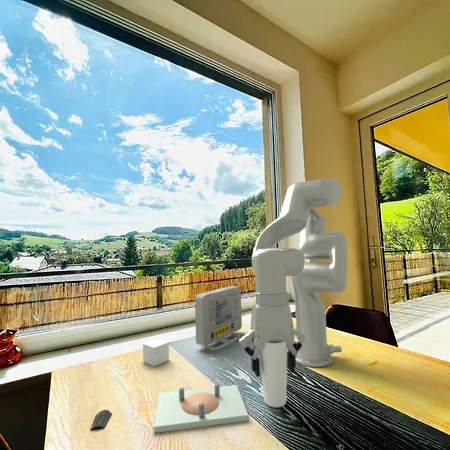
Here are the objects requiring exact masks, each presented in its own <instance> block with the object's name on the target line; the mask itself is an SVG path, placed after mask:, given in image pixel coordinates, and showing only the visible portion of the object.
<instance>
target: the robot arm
mask: <svg viewBox="0 0 450 450" xmlns="http://www.w3.org/2000/svg"><path fill="white" fill-rule="evenodd" d="M286 190H287V191H286V193H285V196H284V200H283V204H282V206H281V209H280V213H279V216H278V217H277V218H276V219H275V220H274V221H272V222H271V223H270V224H269V225H267V227H266V228H264V229H263V230H262V232H261V233H260V234H259V235H258V238H257V239H256V243H255V246H254V248H253V250H252V251H253V252H252V255H251V266H252V268H253V271H254V273H255V274H254V276H255V277H254V278H255V279H254V280H255V303H254V304H252V308H251V317H250V330H249V331H248V332H247V333H246V334H244V335H243V336H241V337H240V338H239V339H238V343H239V344H240V346H241V347H242V349H243V350H244V351H245V353H246V354H248V356H250V358H251V371H252V372H253V373H254V374H255V376H256V377H257V378H258V377H261V364H260V358H259V356H260V354H259V353H260V352H261V350H262V349H265V345H266V343H281V342H284V341H286V346H287V370H288V371H289V372H290V373H291V374H295V368H297V363H298V364H300V365H303V366H306V367H312V368H321V367H328V366H330V365H331V364H333V362H334V358H333V354H334V353H337V354H338V353H342V352H343V351H342V347H341V346H340V345H337V346H336V345H335V346H334V344H332V343H331V344H328V338H327V337H328V336H327V318H326V317H327V316H326V315H327V314H326V306H325V302H324V300H323V298H322V297H321V296H320V294H319V293H333V294H339V293H343V292H344V291H345V290H346V288H347V285H348V262H349V261H348V260H349V259H348V258H349V257H348V256H349V255H348V253H349V251H348V250H349V247H348V241H347V238H346V236H345V234H344V233H342V232H341V231H326V220H325V218H324V217H323V215H322V214H321V213H320V212H319V211H317V210H316V209H315V208H318V207H326V206H334V205H337V204H339V203H340V202H341V200H342V197H343V189H342V186H341V183H340V182H339V181H338V180H336V179H334V178H333V179H331V178H327V179H326V178H320V179H314V180H307V181H306V180H305V181H298V182H295V183H293V184H292V185H289V187H288V188H287V189H286ZM296 234H299V236H298V237H299V238H298V247H297V248H295V247H274V246H275V245H276V244H278V243H279V242H281V241H282V240H284V239H287V238H289V237H292V236H294V235H296ZM305 260H316V261H305ZM317 260H318V261H317ZM319 260H320V261H319ZM323 260H324V261H325V260H326V261H329V262H321V261H323ZM287 277H290V279H291V283H292V285H291V286H292V289H293V294H294V308H295V328H294V319H293V314H292V311H291V306H290V304H289V302H288V301H289V300H292V298H293V295H292V293H288V292H287ZM295 336H296V340H295ZM249 341H250V342H251V343H252V344H253V345H252V347H250V346H249V345H248V344H247V343H248V342H249Z"/></svg>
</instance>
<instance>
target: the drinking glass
mask: <svg viewBox="0 0 450 450" xmlns="http://www.w3.org/2000/svg"><path fill="white" fill-rule="evenodd" d="M287 352H288V349H287V346H286V341H284V342H281V343H266V345H265V349H262V350H261V352H260V353H259V362H260V373H261V377H262V378H261V382H262V387H263V389H262V390H263V401H264V403H265V404H266V405H267V406H268V407H270V408H271V407H272V408H282V407H284V406H285V405H286V403H287V382H288V381H287V379H288V378H287V377H288V368H287Z"/></svg>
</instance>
